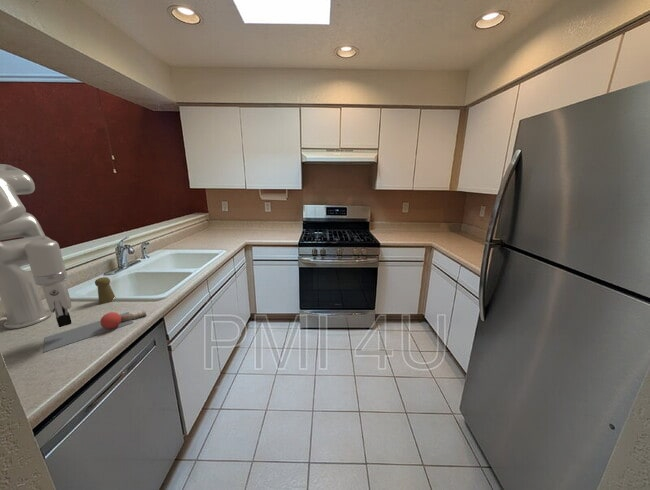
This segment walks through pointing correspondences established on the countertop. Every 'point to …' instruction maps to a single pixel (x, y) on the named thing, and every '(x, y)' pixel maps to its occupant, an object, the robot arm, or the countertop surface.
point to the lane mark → (78, 334)
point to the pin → (133, 315)
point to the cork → (104, 290)
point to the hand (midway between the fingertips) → (65, 324)
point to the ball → (110, 320)
